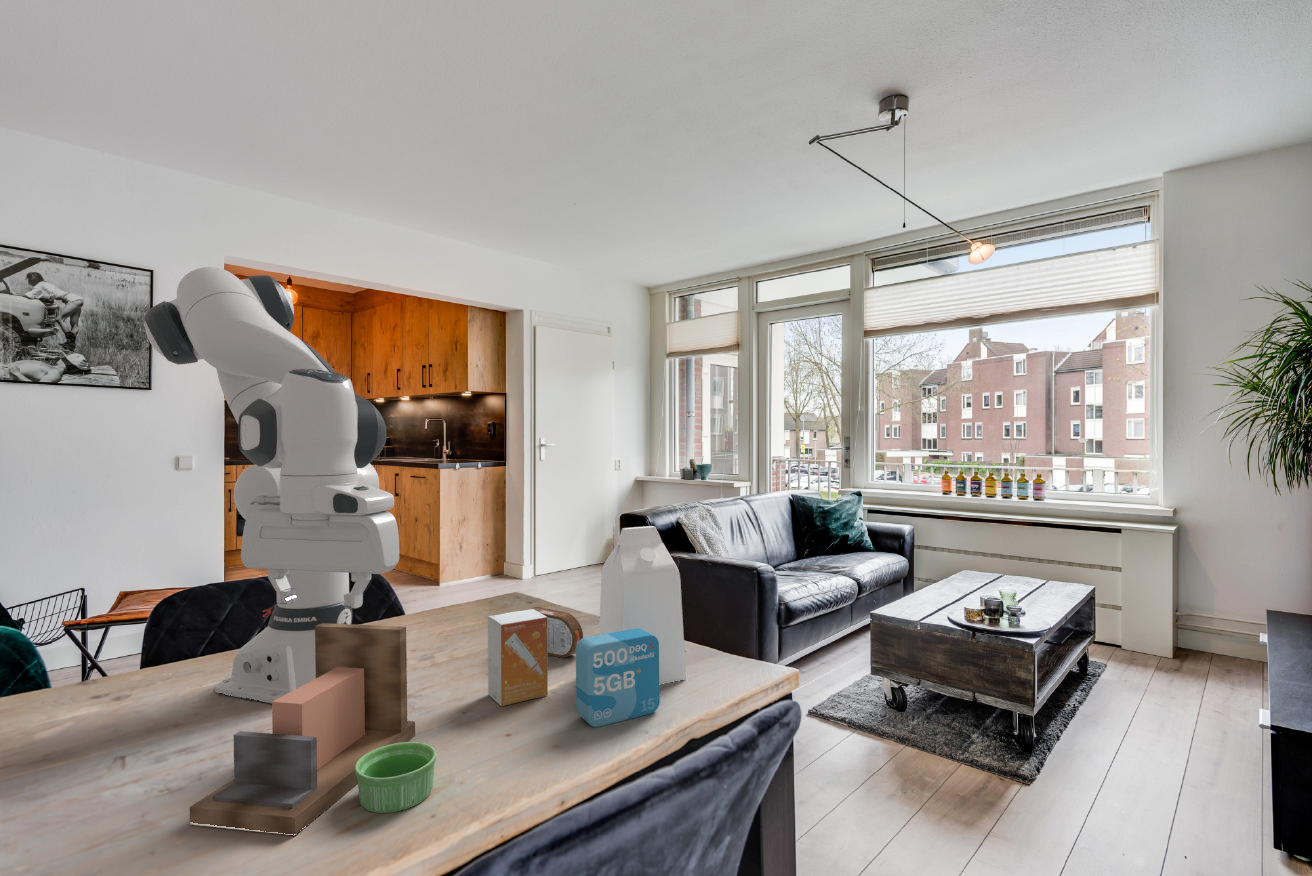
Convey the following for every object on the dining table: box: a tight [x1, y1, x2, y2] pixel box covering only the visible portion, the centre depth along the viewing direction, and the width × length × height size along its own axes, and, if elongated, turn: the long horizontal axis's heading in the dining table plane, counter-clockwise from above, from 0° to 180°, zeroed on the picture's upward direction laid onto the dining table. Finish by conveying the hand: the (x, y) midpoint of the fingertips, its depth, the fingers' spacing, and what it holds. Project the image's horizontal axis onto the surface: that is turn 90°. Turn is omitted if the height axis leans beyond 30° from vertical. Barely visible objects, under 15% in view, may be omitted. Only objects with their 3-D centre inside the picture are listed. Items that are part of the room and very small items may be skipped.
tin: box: [530, 606, 584, 659], centre depth 129 cm, size 15×3×8 cm, turn 58°
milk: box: [598, 525, 687, 685], centre depth 117 cm, size 12×12×26 cm
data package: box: [575, 628, 661, 728], centre depth 100 cm, size 12×4×12 cm, turn 120°
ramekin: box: [355, 741, 437, 814], centre depth 79 cm, size 9×9×4 cm
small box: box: [487, 608, 549, 707], centre depth 108 cm, size 8×6×13 cm
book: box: [271, 667, 365, 770], centre depth 85 cm, size 4×12×9 cm, turn 170°
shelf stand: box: [189, 623, 416, 835], centre depth 83 cm, size 13×24×16 cm, turn 170°
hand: (319, 605), depth 84 cm, fingers open, 8 cm apart
